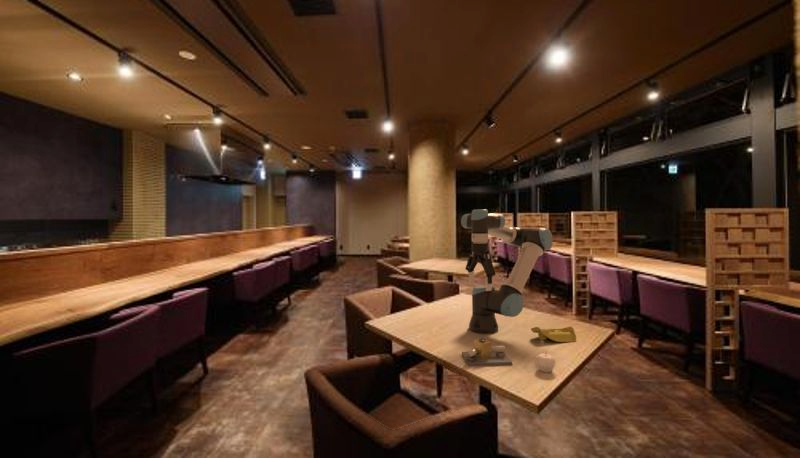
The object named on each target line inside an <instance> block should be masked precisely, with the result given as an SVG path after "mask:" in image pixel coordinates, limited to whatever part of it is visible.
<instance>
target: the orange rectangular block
mask: <svg viewBox="0 0 800 458" xmlns="http://www.w3.org/2000/svg"><path fill="white" fill-rule="evenodd" d="M473 344H474V349H476V348H477V349H479V351H480V354H479V355H476V356H477V357H478V358H480V359H484V358H489V357H491V346H492V345H491V341H489V340H487V339H486V338H478V339H474V343H473Z"/></svg>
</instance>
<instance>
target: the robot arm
mask: <svg viewBox="0 0 800 458" xmlns="http://www.w3.org/2000/svg"><path fill="white" fill-rule="evenodd" d="M460 223H461V226H462V228H464V229H467V230H468V229H469V230H471V251H469V254H468V259H467V263H466V265H465V271H467V273H468V286H474V287H473V288H472V293H471V297H472V298H471V301H472V303H471V304H472V305H471V306H472V307H471V310H472V314H471V317H470V321H469V322H468V323H469V324H468V329H469V331H471V332H472V333H473V332H474V333H477V334H484V335H485V334H486V335H487V334H488V335H489V334H495V333H498V331H499V325H498V322H497V318H496V314H497V315H501V316H503V317H510V318H516V317H517V316H519V315H520V314H521V312H522V311H523V309H524V306H525V305H524V303H525V300H524V297H523V292H522V291H523V289H524V287H525V285H526V283H527V281H528V279H529V277H530V274H531V272H532V270H533V268H534V267H535V264H536V262H537V260H538V258H539V257H541V256H543V255H544V253H545V251H549V250H551V249H552V247H553V244H554V243H553V241H554V239H553V234H552V232H551V230H550V229H549V228H544V227H516V226H512V225H508V226H507V225H506V218H505V216H504V215H503V214H501V213H497V212H496V213H489V211H488V209H486V208H485V209H473V210H471V213H465V214H463V215H462V216H461V220H460ZM489 236H491V237H495V238H496V239H497V238H498V239H500V240H502V241H503V242H504V243H506V244H509V245H511V246H515V247H517V248H522V250H521V252H520V254H519V256H518V258H517V260H516V262H515V264H514V266H513V268H512V270H511V272H510V274H509V276H508V278H507V280H506V282H505V283H504V284H503V283H502V284H501V285H500V287H499V289H498V290H497V289H496V287H495V286H494V285H492V284H493V277H495V276H496V272H495V267H494V265H493V261H492V254H490V253H487V251H489V243H488V242H489ZM478 264H480V265H481V266H482V269H483V270H484V273H485V285H479V286H475V269H476V267H477V265H478Z"/></svg>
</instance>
